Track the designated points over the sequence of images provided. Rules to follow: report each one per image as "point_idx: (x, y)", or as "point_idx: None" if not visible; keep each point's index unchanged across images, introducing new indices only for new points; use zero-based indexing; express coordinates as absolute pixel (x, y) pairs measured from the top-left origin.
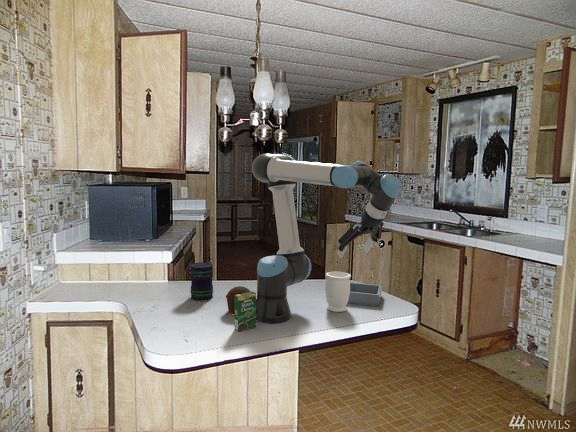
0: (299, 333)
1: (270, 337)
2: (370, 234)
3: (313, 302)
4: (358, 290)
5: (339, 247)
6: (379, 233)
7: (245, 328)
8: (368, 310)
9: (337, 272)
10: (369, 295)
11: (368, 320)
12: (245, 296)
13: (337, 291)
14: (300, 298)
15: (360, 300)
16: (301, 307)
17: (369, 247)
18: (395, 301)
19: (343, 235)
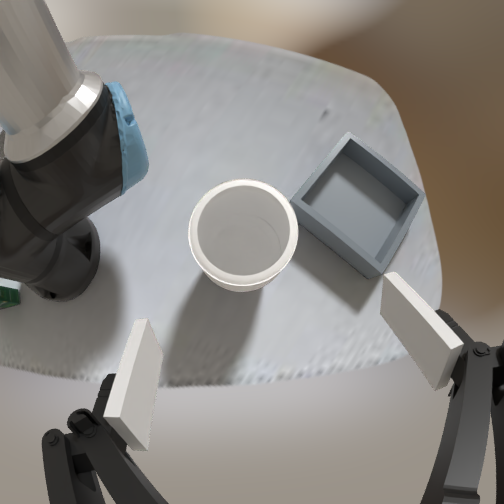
0: (77, 375)
1: (28, 363)
2: (463, 388)
3: (204, 188)
4: (366, 165)
5: (101, 394)
6: (498, 442)
7: (2, 308)
8: (324, 300)
9: (265, 186)
10: (358, 256)
11: (279, 370)
12: None
13: (217, 284)
14: (188, 150)
15: (331, 243)
16: (152, 215)
17: (405, 347)
18: (424, 256)
19: (51, 498)
